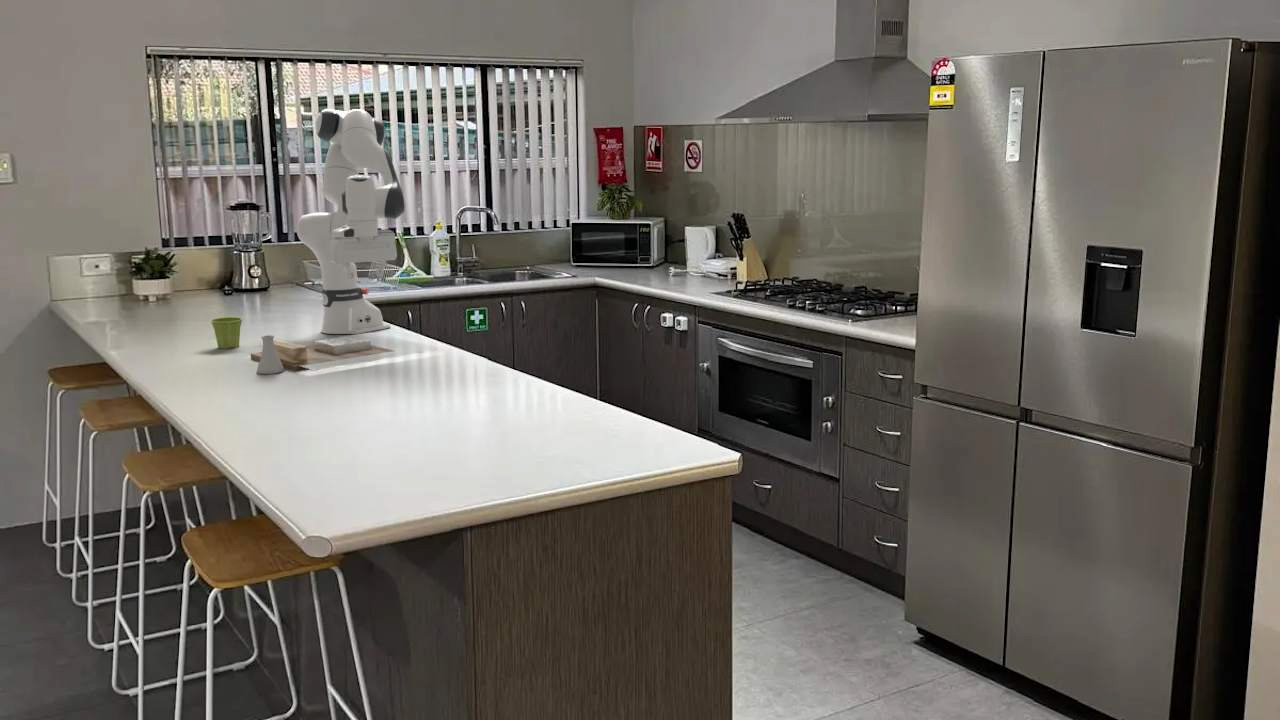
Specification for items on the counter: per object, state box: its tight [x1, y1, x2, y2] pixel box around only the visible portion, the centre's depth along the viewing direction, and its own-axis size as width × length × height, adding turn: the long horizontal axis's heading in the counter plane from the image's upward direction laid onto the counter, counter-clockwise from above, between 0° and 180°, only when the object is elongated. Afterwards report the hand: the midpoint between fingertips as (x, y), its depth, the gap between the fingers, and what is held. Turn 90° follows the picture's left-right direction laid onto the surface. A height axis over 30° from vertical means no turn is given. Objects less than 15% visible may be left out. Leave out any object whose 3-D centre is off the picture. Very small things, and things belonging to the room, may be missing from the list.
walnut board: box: [250, 344, 395, 372], centre depth 335 cm, size 31×28×2 cm
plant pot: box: [209, 316, 243, 350], centre depth 354 cm, size 9×9×9 cm
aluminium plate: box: [313, 335, 372, 355], centre depth 339 cm, size 12×12×2 cm
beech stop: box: [273, 338, 307, 363], centre depth 327 cm, size 4×18×4 cm, turn 43°
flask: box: [255, 334, 286, 375], centre depth 314 cm, size 7×7×10 cm
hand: (365, 277), depth 343 cm, fingers open, 8 cm apart
